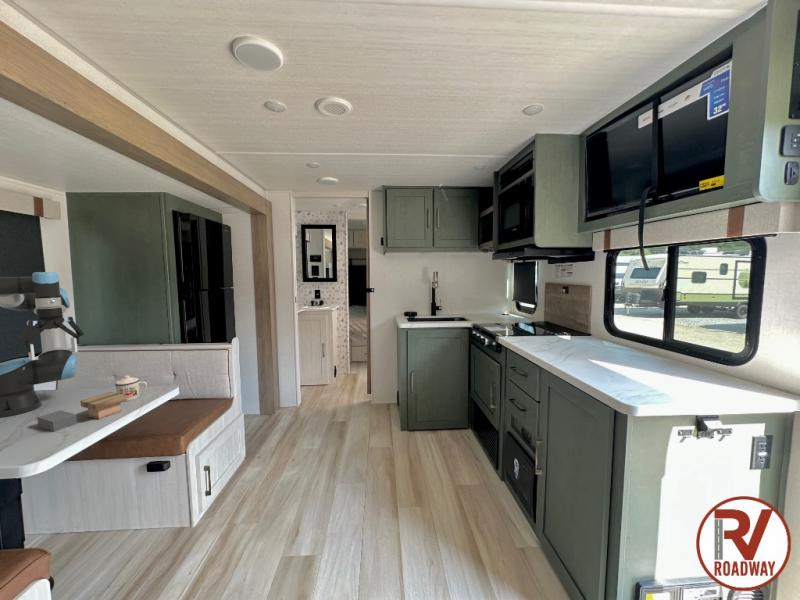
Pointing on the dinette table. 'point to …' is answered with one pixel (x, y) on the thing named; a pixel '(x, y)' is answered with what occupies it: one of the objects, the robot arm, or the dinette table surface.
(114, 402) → the lid
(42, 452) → the dinette table surface
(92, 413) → the pink hollow square box
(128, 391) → the teacup with lid
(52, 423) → the gray rectangular block
